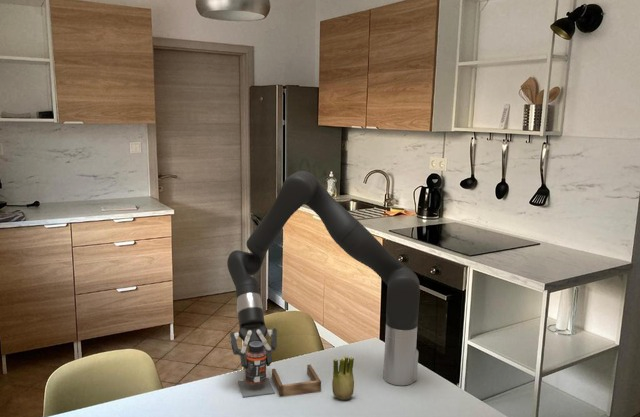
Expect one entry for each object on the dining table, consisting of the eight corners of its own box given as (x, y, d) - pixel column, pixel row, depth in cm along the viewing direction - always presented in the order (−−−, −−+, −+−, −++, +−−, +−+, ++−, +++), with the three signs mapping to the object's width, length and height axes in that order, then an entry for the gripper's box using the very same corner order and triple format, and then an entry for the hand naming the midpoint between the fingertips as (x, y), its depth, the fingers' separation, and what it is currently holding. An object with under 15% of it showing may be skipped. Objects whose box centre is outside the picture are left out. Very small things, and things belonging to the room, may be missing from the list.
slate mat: (268, 378, 158) (268, 377, 158) (274, 393, 150) (274, 392, 150) (238, 382, 156) (238, 381, 156) (242, 397, 147) (242, 396, 147)
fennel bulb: (330, 400, 148) (332, 359, 146) (334, 391, 152) (335, 352, 150) (351, 403, 146) (353, 362, 144) (354, 394, 151) (356, 354, 149)
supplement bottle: (262, 387, 149) (262, 349, 147) (242, 384, 150) (242, 347, 148) (268, 377, 155) (269, 340, 153) (249, 374, 156) (249, 338, 154)
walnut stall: (310, 373, 162) (310, 364, 162) (320, 391, 152) (321, 381, 152) (271, 378, 159) (271, 368, 158) (279, 396, 148) (280, 386, 148)
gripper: (227, 307, 154) (233, 364, 145) (275, 304, 158) (284, 359, 149) (224, 318, 160) (230, 373, 151) (271, 314, 164) (279, 368, 155)
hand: (257, 366), depth 150 cm, fingers closed on supplement bottle, 6 cm apart
